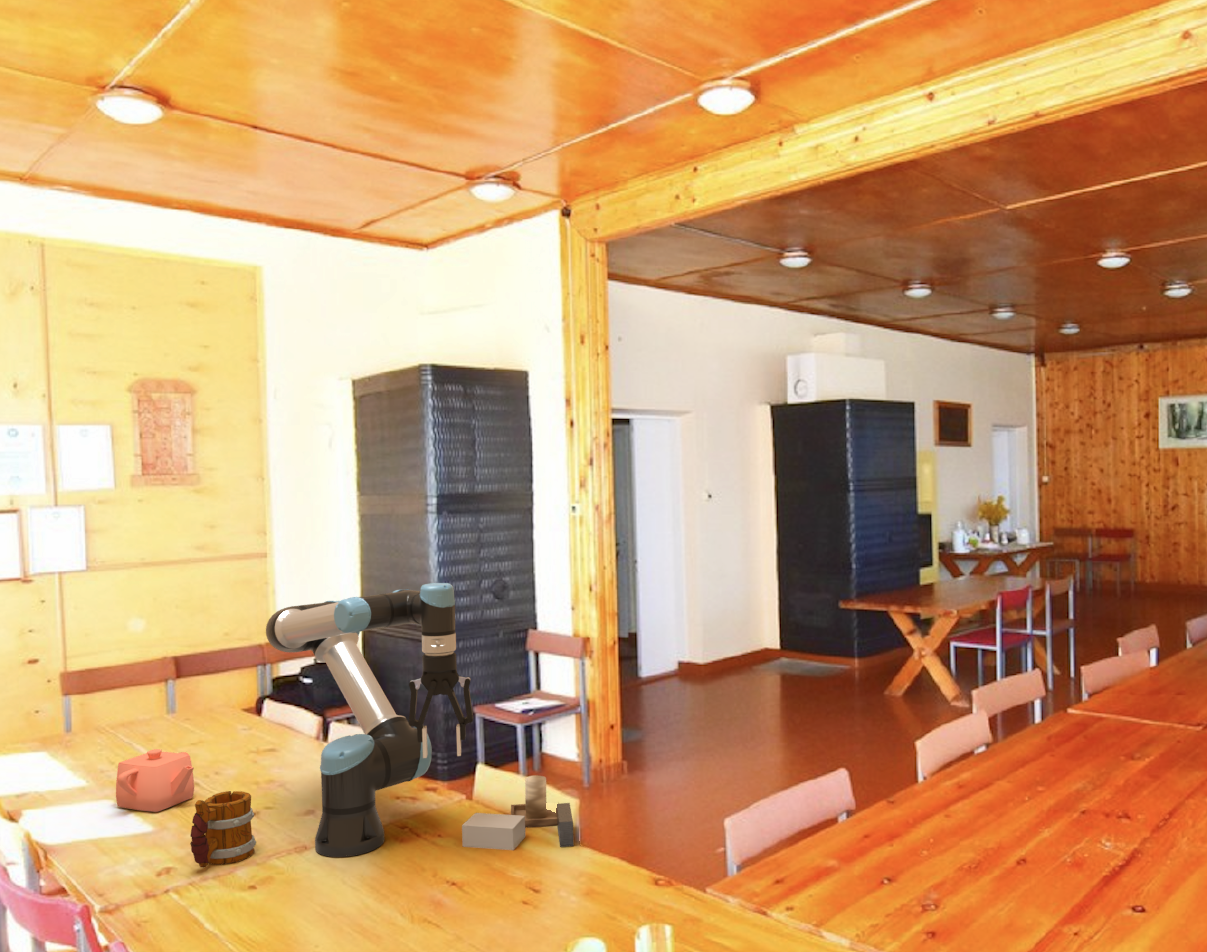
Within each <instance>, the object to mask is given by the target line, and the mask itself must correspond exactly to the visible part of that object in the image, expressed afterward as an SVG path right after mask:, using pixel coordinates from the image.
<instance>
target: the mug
mask: <svg viewBox="0 0 1207 952" xmlns="http://www.w3.org/2000/svg"><path fill="white" fill-rule="evenodd" d="M251 804H252V795H251V794H250V793H249V792H246V791H241V790H238V791H237V790H235V791H234V790H233V791H230V790H226V791H222V792H217V793H215V794H213V795H212V796H209V797H208V798H206V799H205V800H202V799H199V800H196V803H194V807H195V813H194V815H193V816H192V821H191V823H192V824H193V825H192V826H191V830H190V838H191V841H190V851H191V853H192V855H193V857H194V858H193V859H194V862H195V863H197V864H198V865H199V868H206V867H208V866H209V864H210V865H214V866H215V865H221V864H222V865H223V864H224V865H225V864H226V865H228V864H229V865H230V864H232V863H237V862H241V861H243V860H246V859H247V858H250V857H251V856H253V855H254V853H255V847H256V845H257V841H256V839H255V836H254V834H253V833H252V832H253V831H252V823H251V822H252V819H253V818H254V817H255V813H254V812H253V808H252V807H251V806H252V805H251ZM249 856H250V857H249ZM222 865H221V866H222Z"/></svg>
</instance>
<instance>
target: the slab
mask: <svg viewBox="0 0 1207 952" xmlns="http://www.w3.org/2000/svg"><path fill="white" fill-rule="evenodd" d="M461 833H462V834H461V838H462V841H461V842H462V847H463V848H464V847H465V848H479V849H490V850H491V849H492V850H503V851H505V850H506V851H515V849H516V848H517V847H519V845H520V843H522V841H523V840H524V839H525V838H526V828H525V816H520V815H511V814H502V813H501V814H500V813H485V812H475V813H474V814H472V815H471V816H470V817H469V818H468V819H467V820H466V821H465V822H464V823H463V824H462V825H461Z"/></svg>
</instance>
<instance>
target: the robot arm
mask: <svg viewBox="0 0 1207 952" xmlns="http://www.w3.org/2000/svg"><path fill="white" fill-rule="evenodd" d="M409 624H412V625H413V624H416V625H421V626H420V627H421V651H422V653H424V654H423V655H421V656H422V674H421V676H420V678H417V679H411V680H410V681H409V682H408V687H409V690H410V699H409V700H410V701H409V702H410V703H409V712H408V714H409V715H408V716H409V717H408V719H407V718H406V716H404V715H400V714H399V715H398V714H396V713H397V712H395V711H396V710H394V708H393V706H392V704H391V702H390V701H389V698H387V696H386V694H385V692H384V691H383V689H382V687H381V685H380V684H379V682H378V680H377V678H376V677H375V675H374V673H373V671H372V669H371V667H370V666H369V665H368V663H367V660H366V659H365V658H364V655H363V653H362V652H361V650H360V649H359V646H358V643H359V635H360V632H366V631H370V630H376V629H382V628H383V629H384V628H388V627H389V628H390V627H397V626H402V625H409ZM265 626H266V627H265V636H266V639H267V641H268V643H269V644H270V645H271V646H272V647H273V648H275V649H276V650H277V651H280V652H284V653H301V652H307V651H311V652H312V653H313V655H314V657H315V658H316V660H317V661H319V662H321V663H326V665H327V668H328V670H329V671H330V673H331V675H332V677H333V678H334V679H333V680H335V682H336V684H337V686H338V688H339V690H340V692H341V693H342V695H343V697H344V699H345V700H346V703H347V704H348V706H349V708H350V709H351V712H352V714H353V716H354V717H355V720H356V721H357V722H358V725H359V726H360V728H361V730H362V732H363V733H357V734H353V735H345V736H342V737H338V738H336V739H334V740H332V741H330V742H329V743H328V744H326V745H325V746H324V748H323V749H322V751H321V755H320V765H319V766H320V767H319V769H320V770H319V771H320V778H321V782H320V783H321V806H322V807H321V809H322V810H321V812H322V813H321V816H320V820H319V822H318V823H319V824H318V827H317V831H316V834H315V837H314V846H315V847H314V850H315V852H316V853H317V854H318V855H322V856H324V857H332V858H333V857H334V858H346V857H347V858H348V857H352V856H359V855H363V854H366V853H369V852H373V851H374V850H376V849H379V847H381V846H382V845H383V844H384V842H385V828H384V826H383V823H382V821H381V818H380V816H379V812H378V810H377V807H376V792H377V791H380V790H382V789H383V790H384V789H386V788H390V787H393V786H396V785H399V784H403V783H405V782H406V783H407V782H412V781H413V780H414V779H417V778H420V777H421V776H424V775H425V774H426V772H428V770H429V768H430V765H431V762H432V753H433V752H432V751H433V750H432V749H433V747H432V743H431V739H430V737H429V734H428V728H427V725H424V723H425V720H426V717H427V714H428V711H429V709H430V705H431V702H432V698H433V696H439V695H443V696H447V699H449V701H450V702H449V703H450V704H451V707H452V709H453V712H454V714H455V716H456V719H457V722H458V723H457V724H456V727H455V728H456V730H455V731H456V756H457V757H461V756H462V741H464V740H466V737H467V733H466V732H467V731H466V728H467V725H468V724H471V723H473V721H474V711H473V706H472V705H473V704H472V699H471V698H472V697H471V692H470V685H471V680H472V679H471V677H470V676H467V677H464V676H460V675H459V673H458V669H457V654H456V652H455V651H456V650H457V634H456V599H455V591H454V586H453V585H452V584H451V583H448V582H434V583H433V582H431V583H424V584H422V585H421V586H420V590H412V589H410V588H409V589H408V588H405V589H396V590H393V591H392V592H388V593H382V594H381V593H380V594H374V595H365V596H364V595H363V596H352V597H348V598H343V599H341V600H327V601H326V600H325V601H324V602H319V603H309V604H301V605H291V606H288V607H284V608H282V609H279V610H277V611H276V612H275V613H273V614H272V615H271V617H270V618H269V619H268V621H267V623H266V625H265ZM458 682H459V683H460V687H461V688H463V699H464V705H465V711H466V713H465V714H466V717H465V716H464V714H463V711H462V709H461V706H460V703H459V700H458V698H457V696H456V692H455V691H454V688H455V686H456V685H457V684H458ZM421 685H423V687H424V688H425V690H426V691H427V694H426V696H425V700H424V703H423V706H422V709H421V712H420V715H419V718H418V719H416V716H417V703H418V690H419V689H420V687H421Z"/></svg>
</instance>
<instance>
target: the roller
mask: <svg viewBox="0 0 1207 952" xmlns="http://www.w3.org/2000/svg"><path fill="white" fill-rule="evenodd" d="M524 781H525V782H524V784H525V785H524V788H525V790H524V791H525V795H524V796H525V803H524V804H525V806H526V818H527V819H541V818H546V803H547V777H546V776H543V775H539V774H538V775H529V776H527V777H525V779H524Z"/></svg>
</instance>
